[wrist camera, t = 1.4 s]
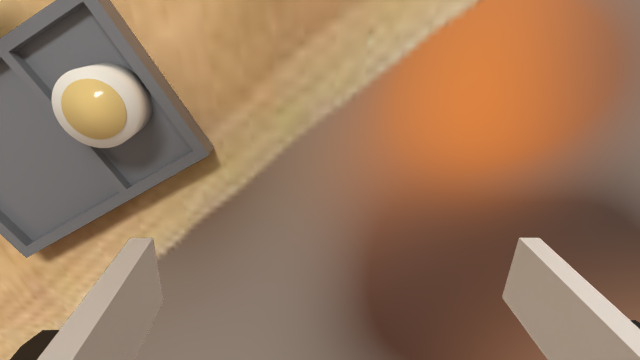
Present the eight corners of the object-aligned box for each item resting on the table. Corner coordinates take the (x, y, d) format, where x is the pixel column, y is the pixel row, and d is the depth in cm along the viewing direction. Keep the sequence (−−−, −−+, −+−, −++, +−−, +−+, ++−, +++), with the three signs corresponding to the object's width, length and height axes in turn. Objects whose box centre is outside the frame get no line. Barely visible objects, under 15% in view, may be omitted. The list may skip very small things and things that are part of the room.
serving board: (-96, 115, 33) (-157, 130, 29) (97, -17, 30) (62, -23, 26) (40, 245, 39) (7, 274, 35) (214, 147, 36) (202, 165, 32)
